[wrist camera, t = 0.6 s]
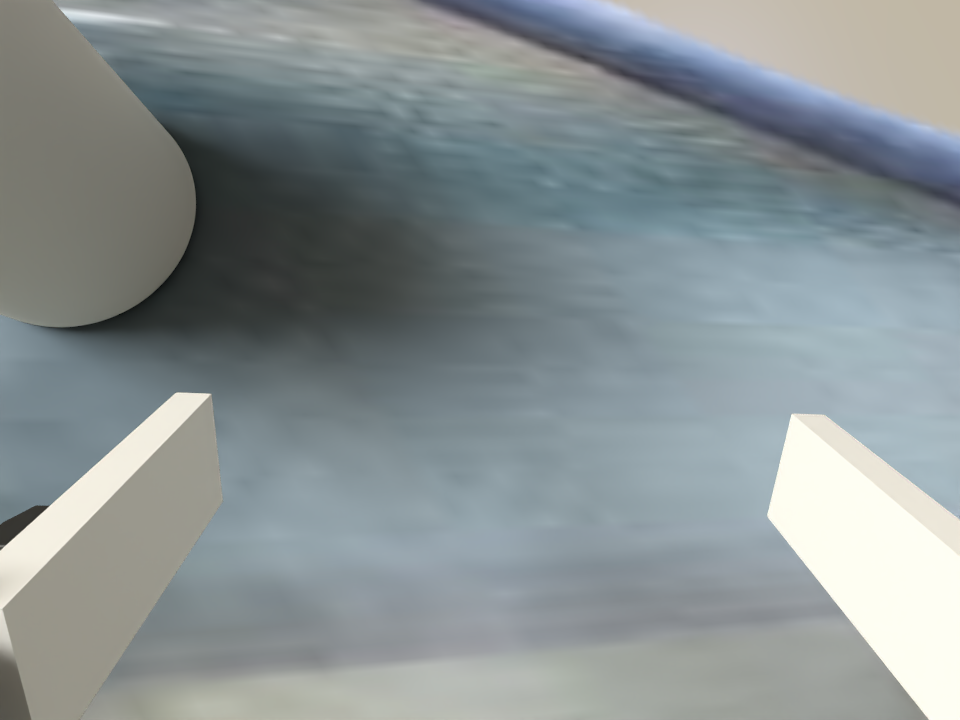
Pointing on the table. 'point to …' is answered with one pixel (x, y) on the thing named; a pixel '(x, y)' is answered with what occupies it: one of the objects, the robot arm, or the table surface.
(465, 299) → the table surface
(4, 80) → the cylinder vase
